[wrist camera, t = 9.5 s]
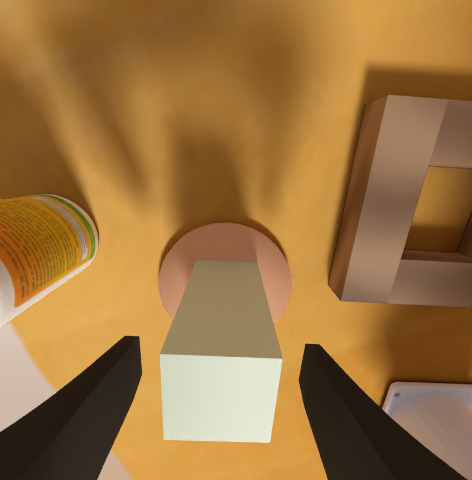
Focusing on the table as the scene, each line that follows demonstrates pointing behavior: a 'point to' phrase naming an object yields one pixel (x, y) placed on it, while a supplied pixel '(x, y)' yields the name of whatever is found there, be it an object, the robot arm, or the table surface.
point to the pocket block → (402, 205)
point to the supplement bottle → (40, 249)
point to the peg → (221, 357)
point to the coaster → (225, 249)
